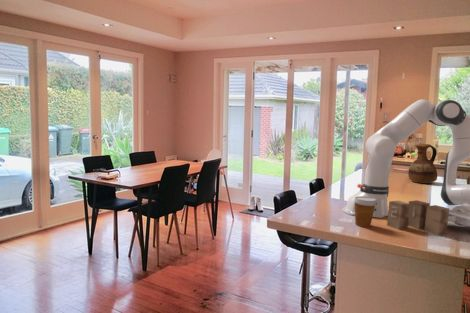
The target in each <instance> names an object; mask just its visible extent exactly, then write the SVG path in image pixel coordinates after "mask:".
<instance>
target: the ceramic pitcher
mask: <svg viewBox="0 0 470 313" xmlns="http://www.w3.org/2000/svg"><path fill="white" fill-rule="evenodd" d="M414 147H416V149H417V151H416V152H417V157H416V159H414V160H413V162H412V163H411V164H410V165H409V168H408V172H407V173H408V174H407V177H408V179H409V181H411V182H414V183H418V182H419V183H421V184H426V183H434V182H436V181H438V171H437V168H436V166H435V164H434V163H435V159H436V158H437V151H438V150H437V149H436V148H437V147H434V146H433V145H431V144H429V143H426V144H425V143H421V144H414ZM429 148H430V149H431V150H432V153H431V157H430V159H428V156H427V151H428V149H429Z"/></svg>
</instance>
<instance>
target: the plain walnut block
mask: <svg viewBox="0 0 470 313" xmlns="http://www.w3.org/2000/svg"><path fill="white" fill-rule="evenodd" d="M449 210H450V208H449V207H444V206H440V205H437V204H435V205H434V204H433V205H429V206H427V212H426V221H425V228H424V232H425V233H429V234H432V235H434V236H437V237H438V236H444V235H446V234H447V231H448V223H449V221H448V215H449Z"/></svg>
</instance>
